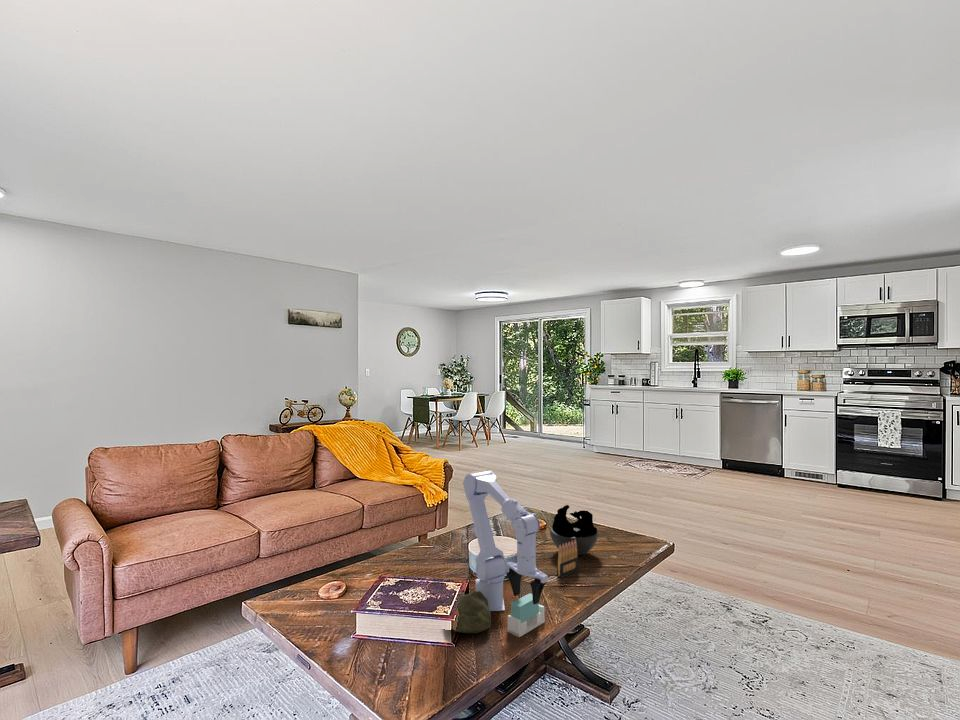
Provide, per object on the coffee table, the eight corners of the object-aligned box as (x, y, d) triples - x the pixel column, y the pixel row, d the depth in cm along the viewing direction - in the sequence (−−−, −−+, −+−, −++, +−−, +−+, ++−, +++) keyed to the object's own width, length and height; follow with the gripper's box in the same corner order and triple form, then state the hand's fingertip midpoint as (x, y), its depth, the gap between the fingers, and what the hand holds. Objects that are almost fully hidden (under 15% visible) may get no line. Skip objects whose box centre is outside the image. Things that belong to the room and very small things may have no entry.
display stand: (519, 637, 153) (519, 621, 153) (507, 631, 156) (507, 615, 156) (544, 621, 162) (544, 606, 161) (533, 616, 165) (533, 601, 165)
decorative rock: (439, 643, 152) (435, 610, 152) (450, 613, 168) (446, 583, 167) (489, 642, 150) (485, 609, 150) (495, 611, 166) (492, 581, 165)
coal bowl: (599, 564, 206) (599, 517, 206) (549, 561, 209) (549, 515, 209) (596, 546, 226) (596, 503, 226) (550, 544, 229) (550, 501, 229)
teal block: (520, 623, 154) (520, 606, 154) (511, 619, 156) (511, 602, 156) (538, 612, 160) (538, 596, 160) (529, 609, 163) (529, 593, 163)
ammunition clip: (560, 577, 194) (560, 545, 194) (556, 576, 196) (556, 544, 196) (578, 570, 201) (578, 539, 201) (574, 568, 203) (574, 537, 203)
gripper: (553, 557, 156) (553, 602, 156) (516, 545, 167) (516, 587, 167) (539, 564, 151) (538, 610, 151) (502, 551, 161) (501, 594, 162)
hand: (526, 598), depth 159 cm, fingers open, 7 cm apart
